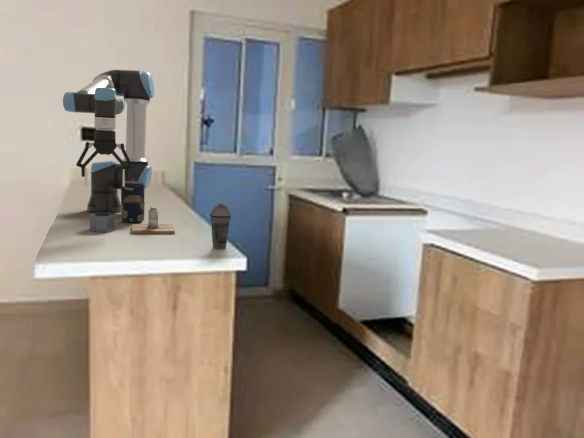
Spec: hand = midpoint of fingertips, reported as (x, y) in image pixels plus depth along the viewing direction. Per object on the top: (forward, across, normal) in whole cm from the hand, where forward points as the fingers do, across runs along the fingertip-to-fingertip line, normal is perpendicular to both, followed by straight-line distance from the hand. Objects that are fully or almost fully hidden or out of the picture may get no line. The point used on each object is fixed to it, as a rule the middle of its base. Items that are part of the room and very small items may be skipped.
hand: (105, 186), depth 209 cm
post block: (+17, +18, -1) cm, 25 cm away
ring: (+17, -1, 0) cm, 17 cm away
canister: (+17, +10, +19) cm, 28 cm away
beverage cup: (+17, +39, -32) cm, 54 cm away
